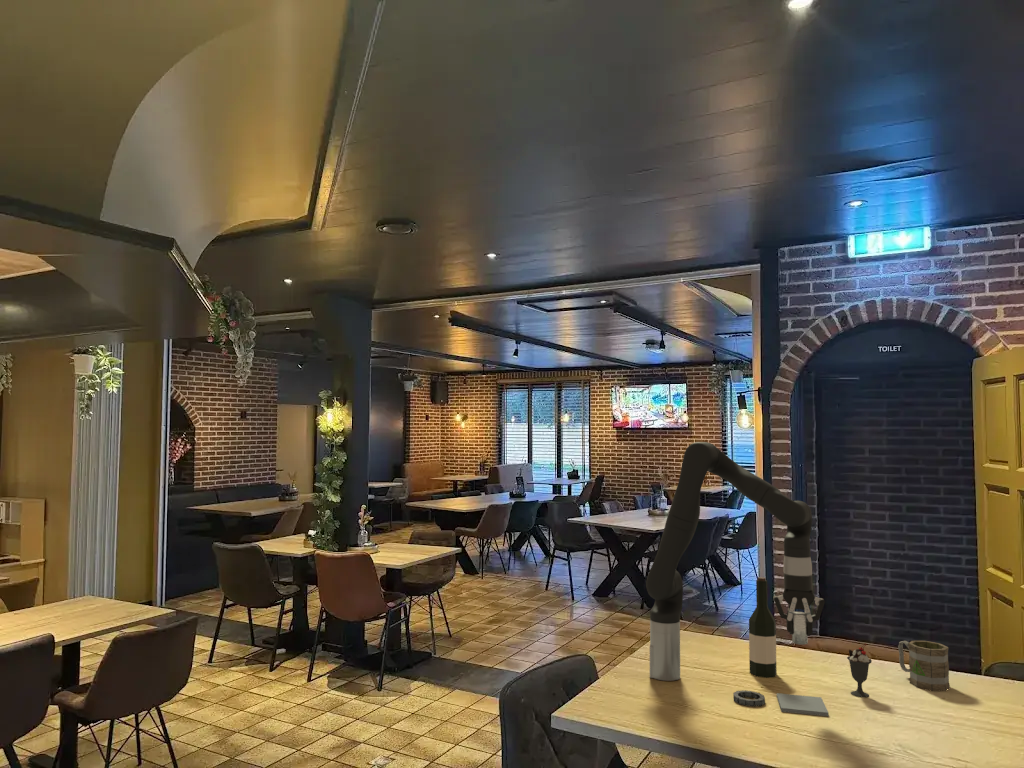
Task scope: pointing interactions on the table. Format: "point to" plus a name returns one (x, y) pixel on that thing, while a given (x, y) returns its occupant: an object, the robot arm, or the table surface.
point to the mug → (926, 664)
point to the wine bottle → (762, 635)
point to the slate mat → (802, 704)
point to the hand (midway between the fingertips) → (799, 634)
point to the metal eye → (757, 700)
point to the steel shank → (799, 628)
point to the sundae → (859, 669)
